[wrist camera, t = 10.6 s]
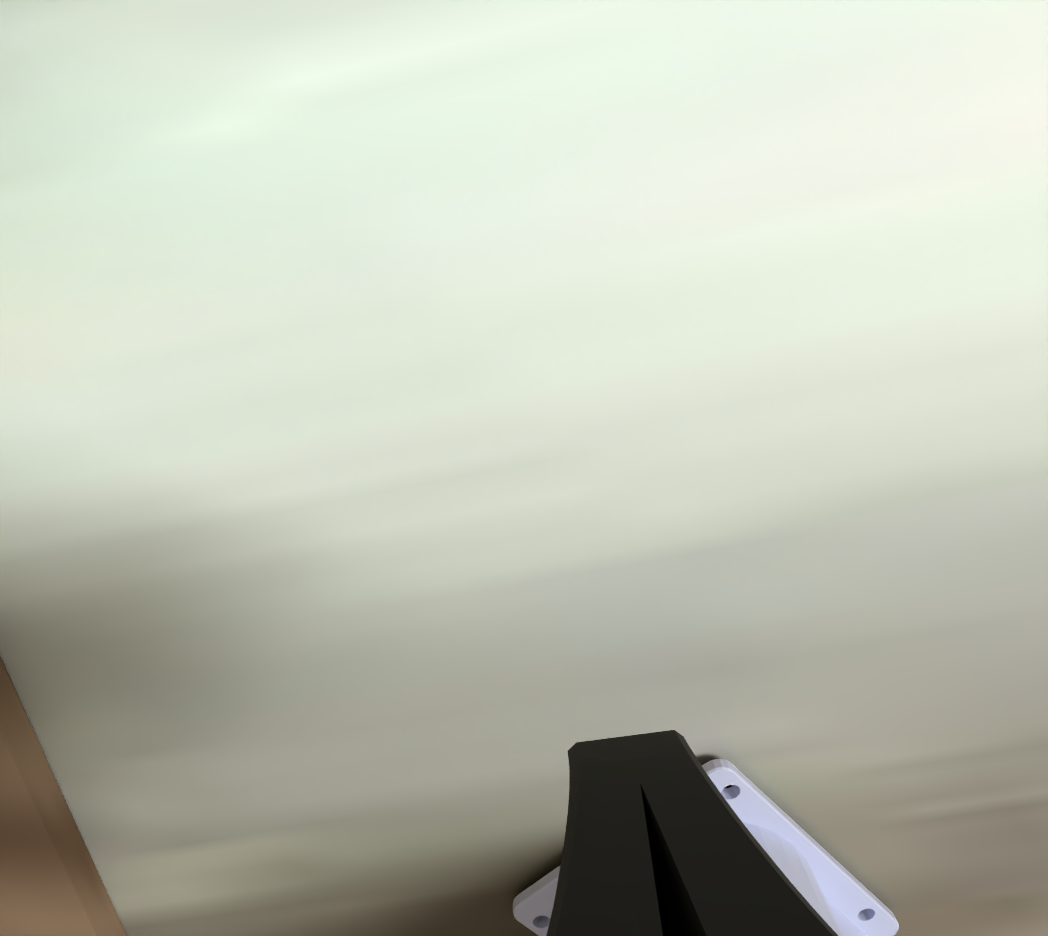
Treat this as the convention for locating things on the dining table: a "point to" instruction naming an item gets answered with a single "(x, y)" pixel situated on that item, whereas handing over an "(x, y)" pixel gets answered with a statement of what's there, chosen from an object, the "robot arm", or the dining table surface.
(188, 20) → the dining table surface
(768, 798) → the robot arm
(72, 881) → the frame board
